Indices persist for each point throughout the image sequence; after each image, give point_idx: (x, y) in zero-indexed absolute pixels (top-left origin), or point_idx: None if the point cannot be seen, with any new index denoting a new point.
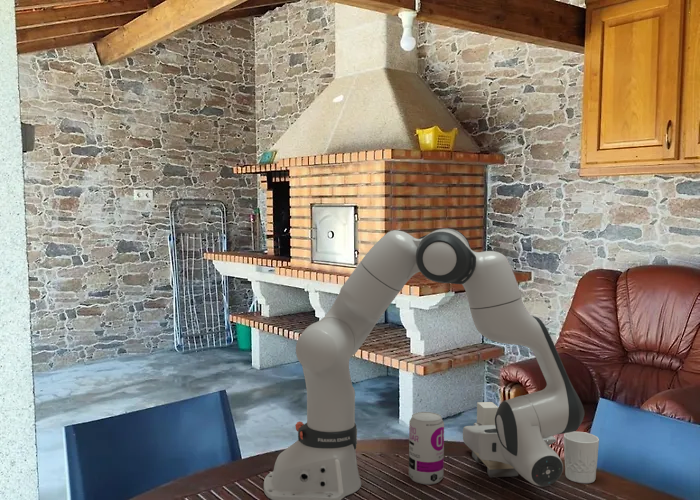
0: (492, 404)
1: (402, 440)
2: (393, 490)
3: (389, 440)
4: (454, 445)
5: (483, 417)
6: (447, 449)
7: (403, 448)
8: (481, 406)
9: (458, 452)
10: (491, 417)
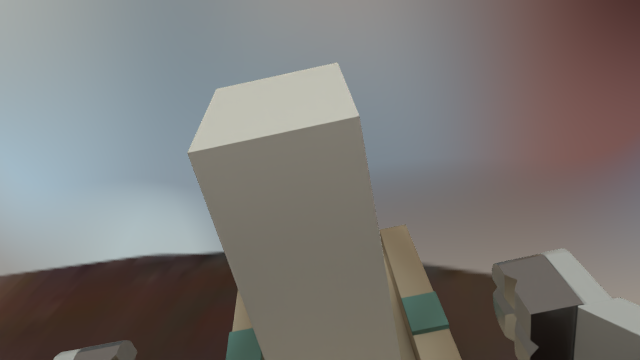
0: (322, 86)
1: (72, 271)
2: None
3: (27, 277)
4: None
5: (220, 236)
6: (193, 326)
7: (15, 337)
8: (201, 129)
9: None
10: (300, 223)
